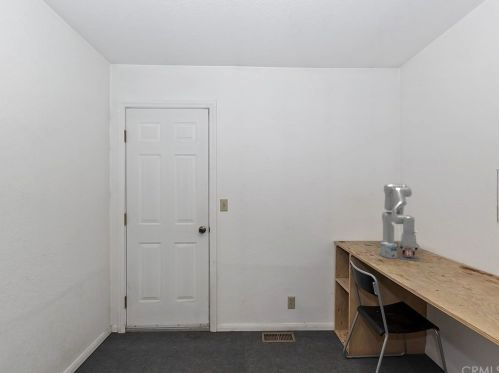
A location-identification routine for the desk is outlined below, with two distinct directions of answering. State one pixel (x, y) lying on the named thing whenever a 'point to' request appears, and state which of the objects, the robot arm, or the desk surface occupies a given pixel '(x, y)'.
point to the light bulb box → (388, 250)
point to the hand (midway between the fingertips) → (408, 255)
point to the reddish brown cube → (408, 252)
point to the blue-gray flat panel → (408, 258)
